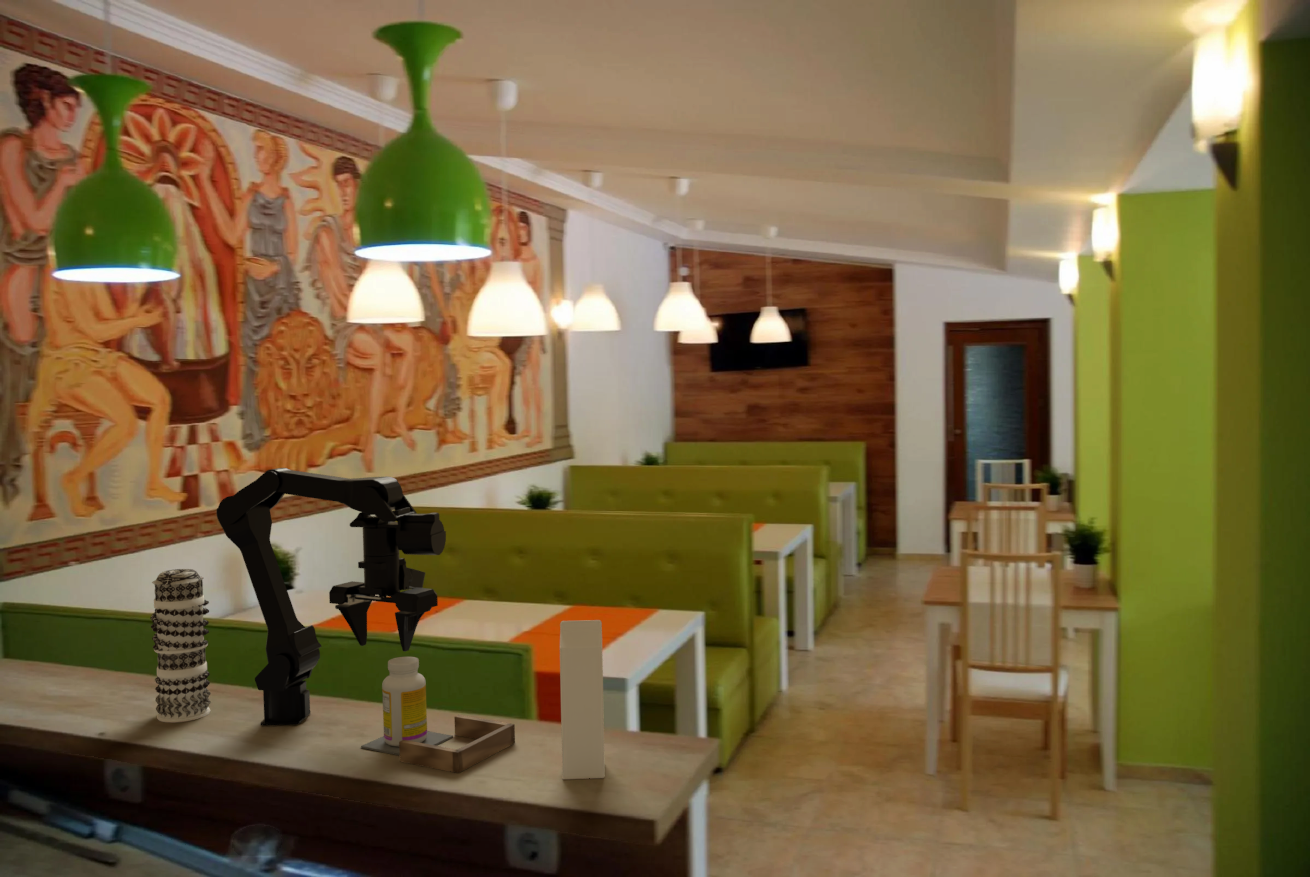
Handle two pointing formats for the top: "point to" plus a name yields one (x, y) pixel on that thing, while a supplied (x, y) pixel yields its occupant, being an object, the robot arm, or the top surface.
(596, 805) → the top surface
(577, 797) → the top surface
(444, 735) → the mat
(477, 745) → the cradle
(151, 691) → the top surface
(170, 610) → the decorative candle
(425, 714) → the supplement bottle
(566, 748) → the beige tall block
